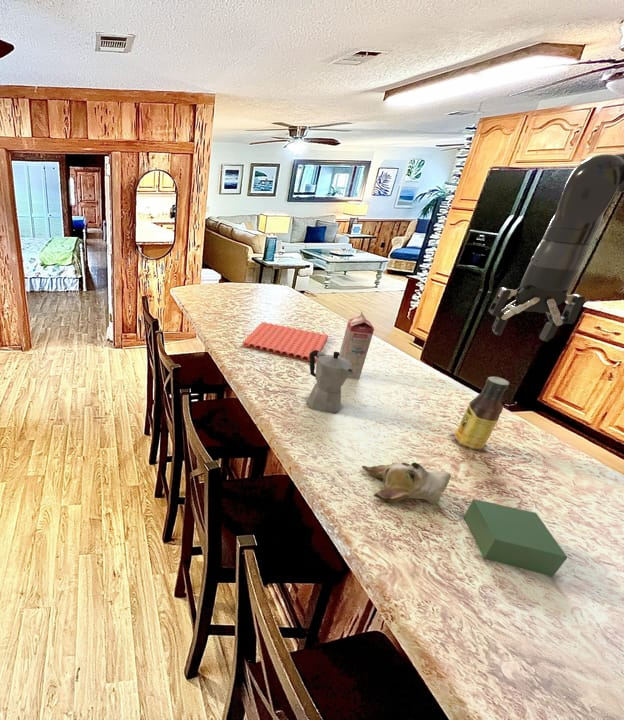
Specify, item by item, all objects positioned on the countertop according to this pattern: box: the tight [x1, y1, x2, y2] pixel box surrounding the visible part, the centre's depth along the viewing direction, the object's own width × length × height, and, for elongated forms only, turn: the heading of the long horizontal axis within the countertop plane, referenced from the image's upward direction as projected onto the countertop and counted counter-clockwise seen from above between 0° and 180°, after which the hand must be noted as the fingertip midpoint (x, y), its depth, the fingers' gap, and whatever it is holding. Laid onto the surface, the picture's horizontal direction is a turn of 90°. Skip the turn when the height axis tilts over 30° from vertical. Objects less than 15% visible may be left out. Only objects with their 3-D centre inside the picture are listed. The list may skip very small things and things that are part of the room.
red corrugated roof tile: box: [241, 321, 329, 364], centre depth 159 cm, size 28×28×2 cm
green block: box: [463, 498, 568, 577], centre depth 71 cm, size 10×10×6 cm
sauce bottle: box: [453, 376, 510, 451], centre depth 96 cm, size 6×6×20 cm
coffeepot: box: [306, 350, 355, 414], centre depth 113 cm, size 15×9×18 cm, turn 23°
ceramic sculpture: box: [361, 462, 452, 505], centre depth 83 cm, size 11×9×15 cm
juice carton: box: [338, 311, 375, 380], centre depth 131 cm, size 7×7×22 cm
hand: (519, 336), depth 87 cm, fingers open, 8 cm apart
